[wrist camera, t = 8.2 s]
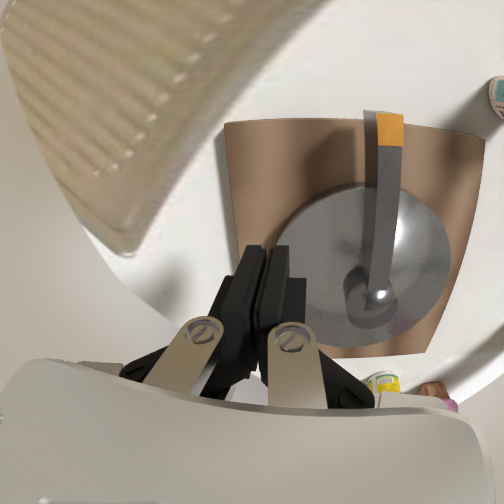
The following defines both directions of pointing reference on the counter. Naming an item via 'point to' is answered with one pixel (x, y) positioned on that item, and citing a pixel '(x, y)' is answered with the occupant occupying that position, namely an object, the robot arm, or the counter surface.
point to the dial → (368, 249)
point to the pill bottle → (497, 95)
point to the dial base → (343, 172)
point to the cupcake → (438, 394)
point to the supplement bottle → (384, 382)
